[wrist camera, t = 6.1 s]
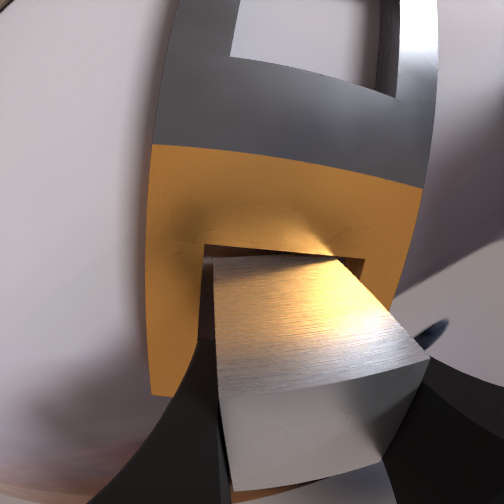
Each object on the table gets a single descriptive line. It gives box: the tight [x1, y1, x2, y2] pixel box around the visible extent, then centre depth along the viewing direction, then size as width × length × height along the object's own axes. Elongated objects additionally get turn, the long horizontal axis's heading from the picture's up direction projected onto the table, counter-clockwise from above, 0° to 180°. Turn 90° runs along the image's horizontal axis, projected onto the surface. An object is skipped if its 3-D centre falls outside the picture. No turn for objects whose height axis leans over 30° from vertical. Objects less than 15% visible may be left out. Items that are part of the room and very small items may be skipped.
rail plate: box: [145, 0, 438, 397], centre depth 9 cm, size 9×19×2 cm, turn 172°
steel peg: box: [213, 253, 431, 491], centre depth 8 cm, size 4×4×6 cm
